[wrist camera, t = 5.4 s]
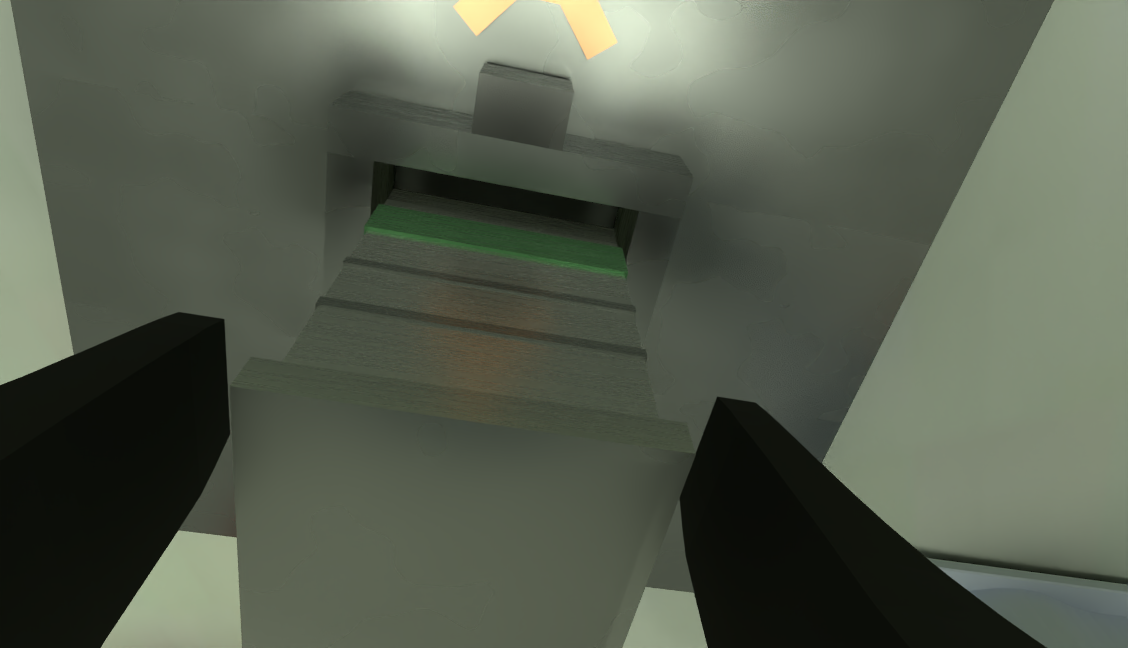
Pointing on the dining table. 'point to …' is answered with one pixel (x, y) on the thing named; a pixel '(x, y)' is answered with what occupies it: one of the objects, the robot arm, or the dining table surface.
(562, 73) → the stand base
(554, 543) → the column
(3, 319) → the dining table surface
